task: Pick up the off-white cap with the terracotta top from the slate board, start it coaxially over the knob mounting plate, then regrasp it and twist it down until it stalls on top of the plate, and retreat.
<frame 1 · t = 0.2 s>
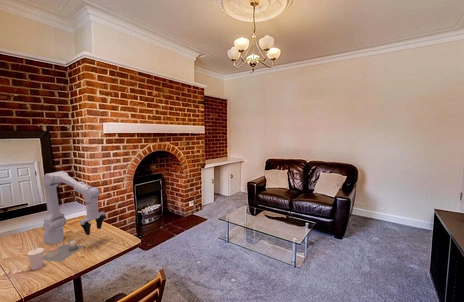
hand: (93, 231, 126), 10 cm above the table, fingers open, 7 cm apart
knob mounting plate: (73, 251, 123), on the table
cap: (53, 254, 117), point 1 cm above the table, touching knob mounting plate
smoothie: (37, 270, 106), on the table
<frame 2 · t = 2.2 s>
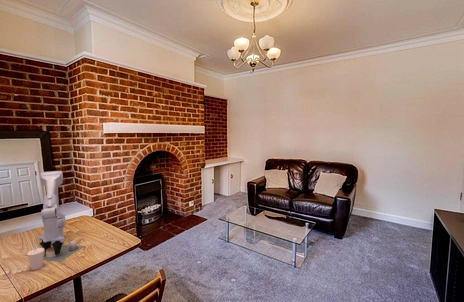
hand: (52, 253, 117), 2 cm above the table, fingers closed on cap, 5 cm apart
cap: (53, 254, 117), point 2 cm above the table, touching gripper, knob mounting plate
everything else where it was.
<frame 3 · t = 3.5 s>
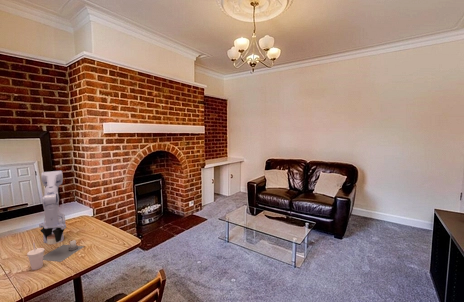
hand: (53, 240, 117), 9 cm above the table, fingers closed on cap, 5 cm apart
cap: (53, 241, 117), point 8 cm above the table, touching gripper
everything else where it was.
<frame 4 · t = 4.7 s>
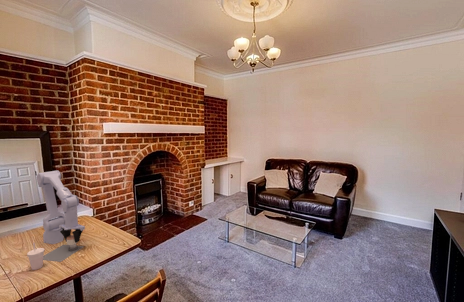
hand: (72, 241, 122), 6 cm above the table, fingers closed on cap, 5 cm apart
cap: (72, 242, 122), point 5 cm above the table, touching gripper
everything else where it was.
when the fingers open (6 cm above the table, at t = 5.2 s): cap drops 2 cm, resting on knob mounting plate.
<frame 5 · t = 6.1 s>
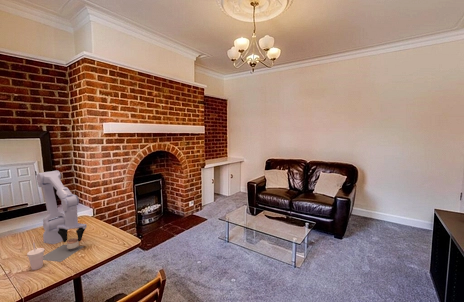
hand: (72, 240, 122), 6 cm above the table, fingers open, 7 cm apart
cap: (72, 246, 122), point 3 cm above the table, touching knob mounting plate
everything else where it was.
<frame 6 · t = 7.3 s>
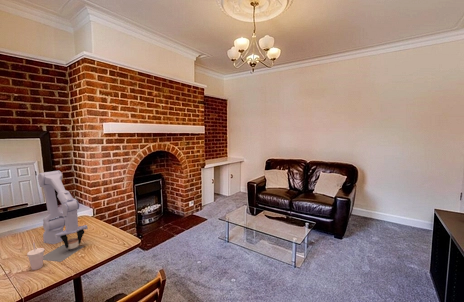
hand: (73, 245, 122), 4 cm above the table, fingers closed on cap, 5 cm apart
cap: (73, 246, 122), point 3 cm above the table, touching gripper, knob mounting plate
everything else where it was.
when the fingers open (3 cm above the table, at t = 8.7 s): cap stays where it is, resting on knob mounting plate.
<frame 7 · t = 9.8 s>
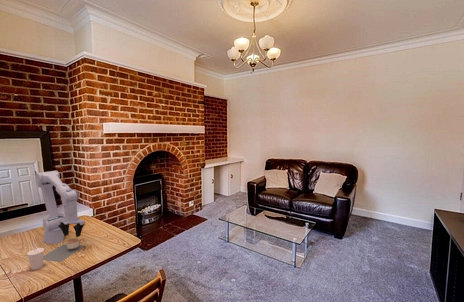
hand: (72, 235, 122), 9 cm above the table, fingers open, 7 cm apart
cap: (73, 246, 122), point 3 cm above the table, touching knob mounting plate
everything else where it was.
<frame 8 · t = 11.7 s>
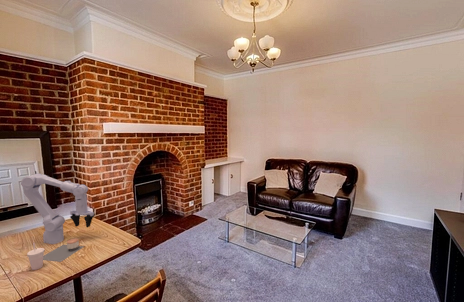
hand: (82, 226, 134), 9 cm above the table, fingers open, 7 cm apart
nothing on the table moved.
at the end: cap 0.0 cm off-centre on the knob mounting plate, point 3.1 cm above the knob mounting plate's base; cap tilted 0°; the gripper is holding nothing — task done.
